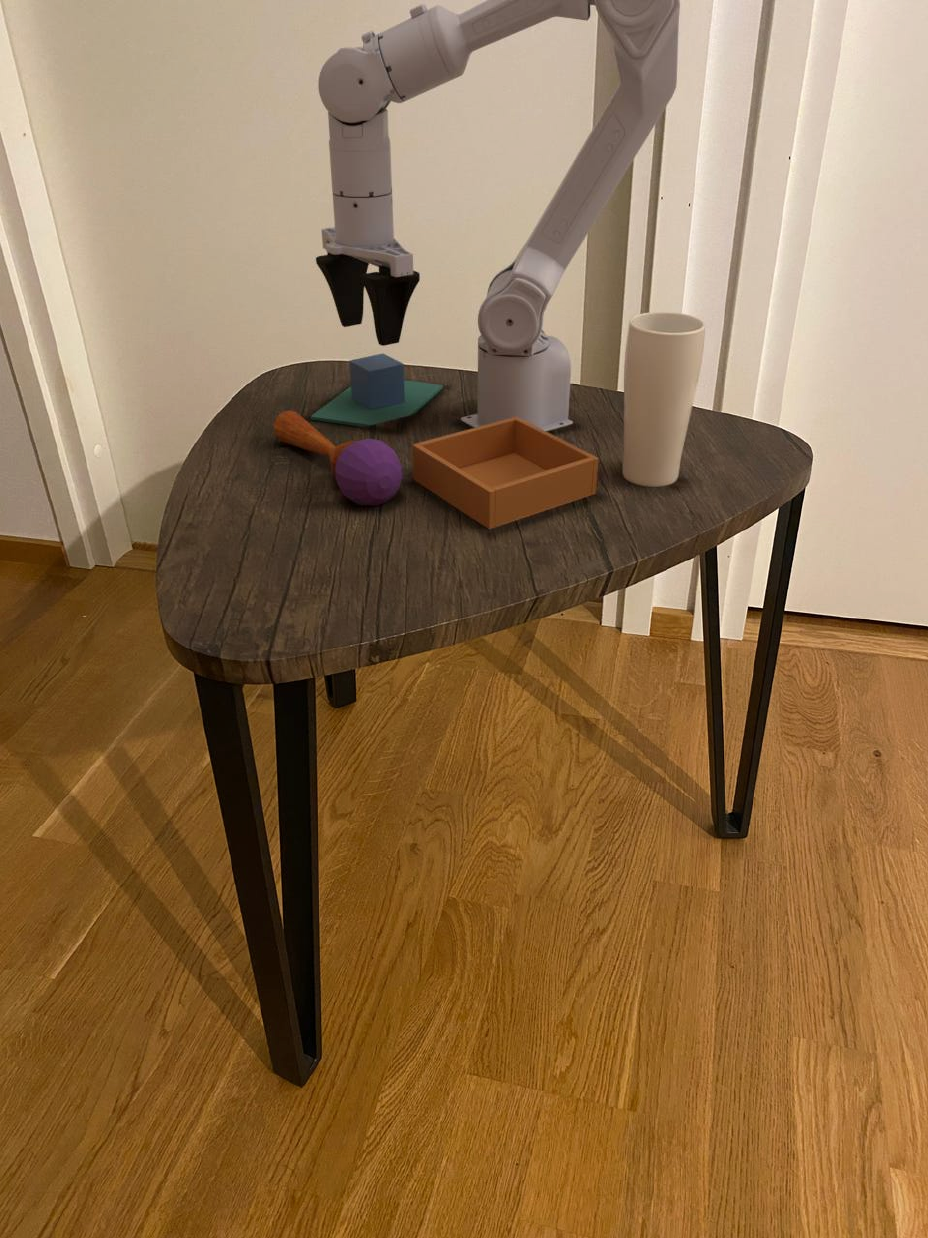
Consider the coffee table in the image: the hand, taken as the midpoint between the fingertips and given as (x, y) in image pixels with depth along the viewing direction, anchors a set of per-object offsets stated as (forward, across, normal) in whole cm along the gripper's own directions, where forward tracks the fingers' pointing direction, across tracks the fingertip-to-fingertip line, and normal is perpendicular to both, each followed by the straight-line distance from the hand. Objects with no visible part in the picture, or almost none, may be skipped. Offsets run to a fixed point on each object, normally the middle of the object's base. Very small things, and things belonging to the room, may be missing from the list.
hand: (369, 333), depth 101 cm
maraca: (+10, +10, -10) cm, 17 cm away
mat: (+9, -4, +3) cm, 11 cm away
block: (+9, -4, +3) cm, 10 cm away
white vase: (+10, +28, +14) cm, 33 cm away
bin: (+9, +22, +1) cm, 24 cm away
